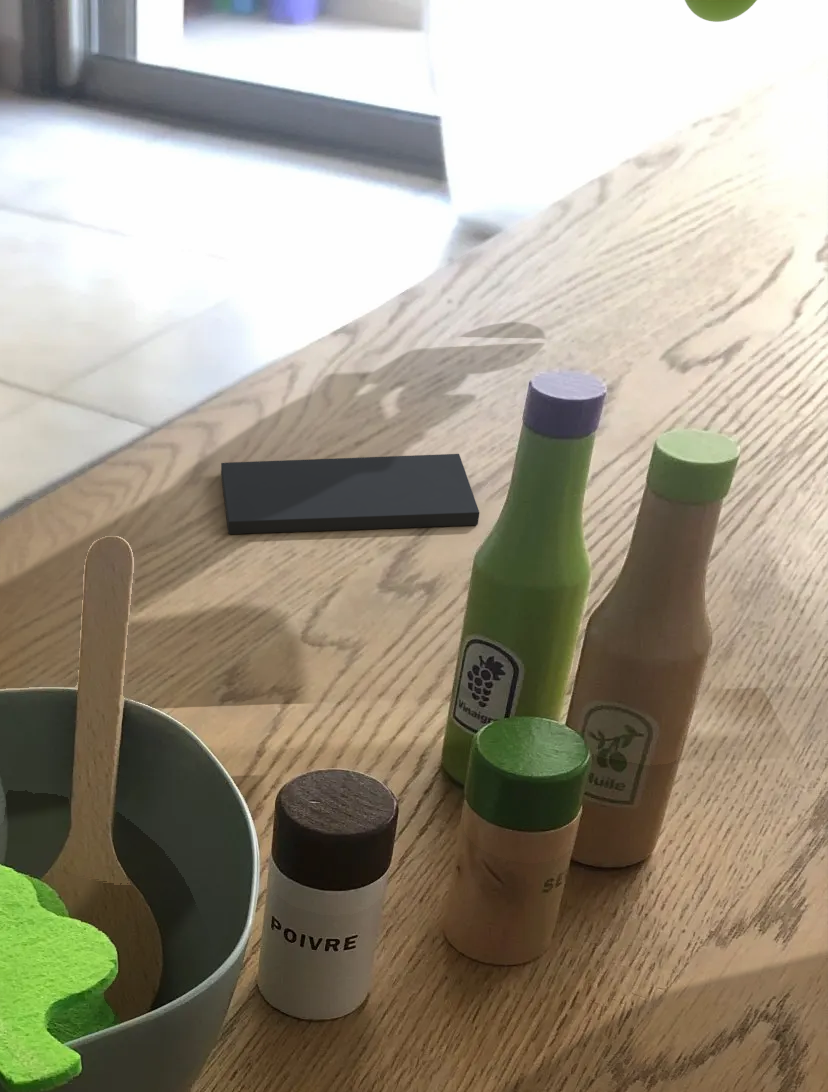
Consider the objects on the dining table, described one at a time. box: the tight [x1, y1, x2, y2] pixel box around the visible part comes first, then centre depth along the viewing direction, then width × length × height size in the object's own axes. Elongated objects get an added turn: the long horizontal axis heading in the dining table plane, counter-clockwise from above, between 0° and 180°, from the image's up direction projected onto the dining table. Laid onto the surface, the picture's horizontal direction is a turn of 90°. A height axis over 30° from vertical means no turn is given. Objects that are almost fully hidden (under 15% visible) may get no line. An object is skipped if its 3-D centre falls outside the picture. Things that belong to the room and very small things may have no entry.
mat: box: [220, 453, 480, 535], centre depth 94 cm, size 14×7×1 cm, turn 90°
